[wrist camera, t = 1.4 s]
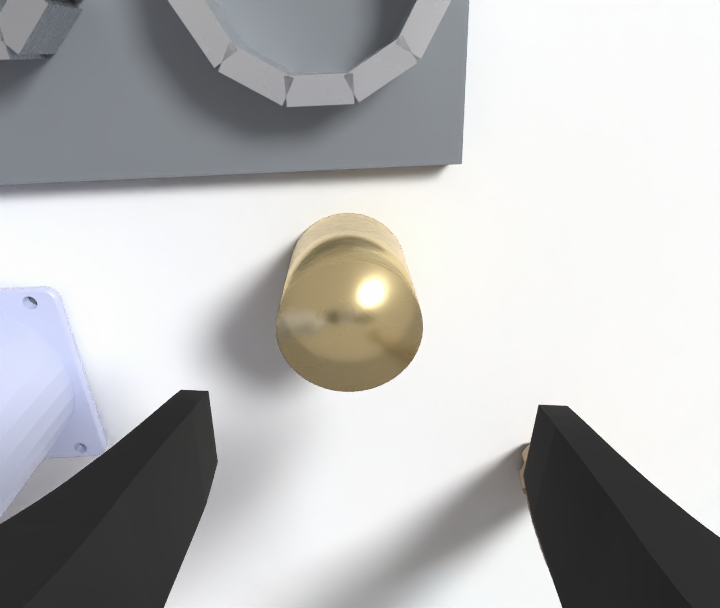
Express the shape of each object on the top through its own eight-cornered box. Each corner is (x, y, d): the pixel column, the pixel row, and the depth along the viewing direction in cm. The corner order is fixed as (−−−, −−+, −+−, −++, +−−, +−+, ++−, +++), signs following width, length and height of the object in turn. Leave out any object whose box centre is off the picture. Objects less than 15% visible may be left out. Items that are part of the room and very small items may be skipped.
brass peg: (296, 322, 21) (283, 395, 17) (285, 215, 19) (267, 265, 15) (404, 316, 21) (421, 388, 17) (404, 210, 19) (423, 258, 15)
